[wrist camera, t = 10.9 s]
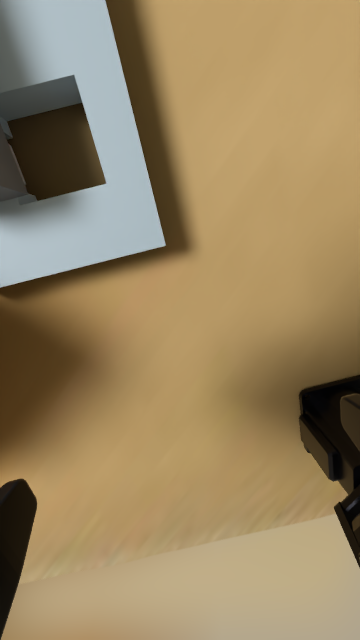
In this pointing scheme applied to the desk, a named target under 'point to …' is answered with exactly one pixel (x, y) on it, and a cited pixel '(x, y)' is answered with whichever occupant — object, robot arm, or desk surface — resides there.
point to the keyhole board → (107, 130)
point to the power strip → (10, 172)
